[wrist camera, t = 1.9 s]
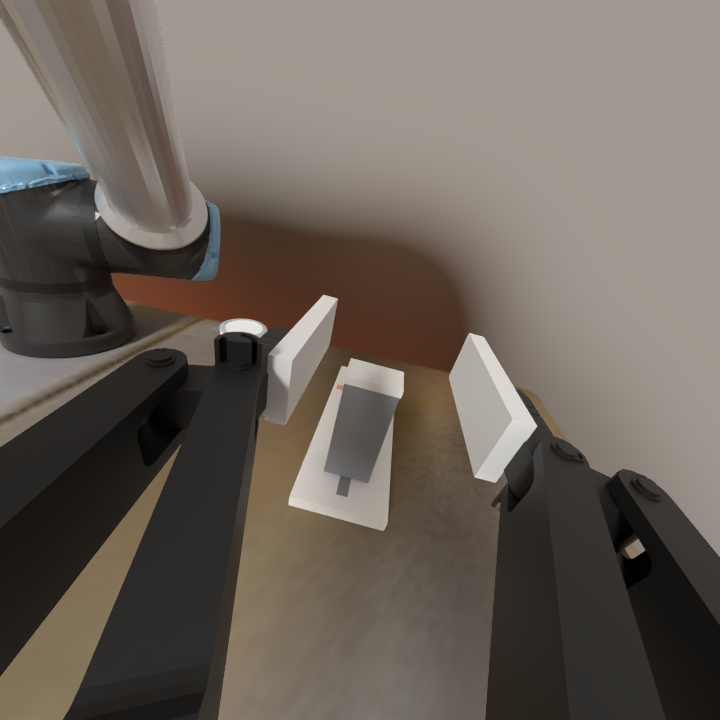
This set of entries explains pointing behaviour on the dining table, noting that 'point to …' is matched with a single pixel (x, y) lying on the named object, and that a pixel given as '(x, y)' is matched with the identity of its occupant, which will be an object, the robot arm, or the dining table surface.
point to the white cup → (243, 327)
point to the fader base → (337, 491)
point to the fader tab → (363, 418)
